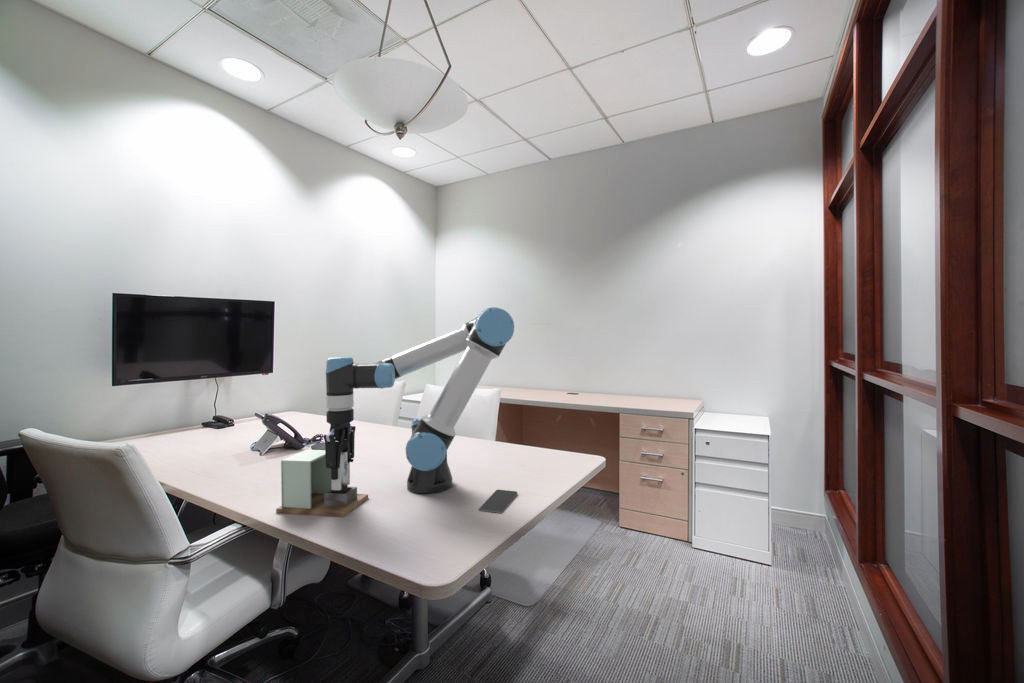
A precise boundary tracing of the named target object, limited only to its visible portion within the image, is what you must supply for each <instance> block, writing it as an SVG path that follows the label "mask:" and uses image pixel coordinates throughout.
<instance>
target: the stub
mask: <svg viewBox="0 0 1024 683" xmlns="http://www.w3.org/2000/svg"><path fill="white" fill-rule="evenodd" d="M339 467H341V490H333V493H338V494H345V493H346V492H348V487H349V485H348V457H347V451H341V455H340V465H339Z"/></svg>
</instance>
